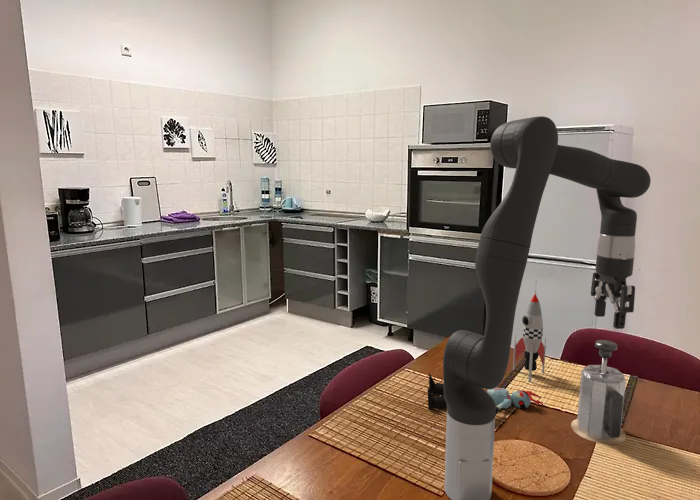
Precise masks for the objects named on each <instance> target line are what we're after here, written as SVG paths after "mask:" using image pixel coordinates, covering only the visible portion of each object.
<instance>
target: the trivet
mask: <svg viewBox="0 0 700 500" xmlns="http://www.w3.org/2000/svg"><path fill="white" fill-rule="evenodd" d="M570 426H571V429H572V430H573V432H574V433H575V434H577V435H579V436H580V437H581V438H583V439H585V440H588V441H590V442H594V443H597V444H603V445H617V444H621V443H623V442H624V441H625V440H626V439H627V435H626V433H625V431H624V430H623V429H622V428H621V431H620V437H618V438H617V439H616V440H614V441H602V440H597V439H594V438H591V437H588V436H586V435H585V434H583V433H582V432H580V431H579V430H578V427H577V418H576V419H574V420H572V422H571V423H570Z"/></svg>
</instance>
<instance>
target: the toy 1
mask: <svg viewBox="0 0 700 500" xmlns="http://www.w3.org/2000/svg"><path fill="white" fill-rule="evenodd" d="M483 389H484V388H483ZM484 390H485V391H486V392H487V393H488V394H489V395H490V396H491V397H492V398H493V400H494V401H495V405H496V415H495V417H496V416H497V415H498V414H499V411H500V409H508V408H510V407H511V406H512V404H513V406H514V407H516V408H519V409H523V410H527V408H529V407H530V405H531V401H532V402H533V403H535V404H536V405H541V406H545V404H544V403H543V402H541V401H540V400H541V399H542V397H541V396H539V395H538V394H536V393H535V392H532V391H531V390H514V391H512V392H511V394H510V391H509V390H508V389H506V388H503V387H502V388H501V387H496V388H494V389H491V390H488V389H484ZM434 394H437V395H434ZM440 395H441V396H440ZM532 396H533V397H537V398H538V399H534V398H533V397H532ZM539 399H540V400H539ZM427 405H428V407H427V408H429V409H433V408H438V409H447V403H446V401H445V398H444V383H441V382H436V381H434V378H433V376H432V375H431V373H430V372H428V386H427Z"/></svg>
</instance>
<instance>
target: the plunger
mask: <svg viewBox="0 0 700 500" xmlns="http://www.w3.org/2000/svg"><path fill="white" fill-rule="evenodd" d="M594 347H595V348H597V349H598V350H599V351H598V356H599V357H601V359H602V360H601V365H602V368H601V373H602V374H606V366H607V364H608V359H609V358H611V357H612V354H613V352H615V351H618V350H617V349H618V344H617V343H616V342H614V341H612V340H608V339H607V340H605V339H598V340H595V343H594Z"/></svg>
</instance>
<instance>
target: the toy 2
mask: <svg viewBox="0 0 700 500" xmlns="http://www.w3.org/2000/svg"><path fill="white" fill-rule="evenodd" d="M535 283H537V280H535ZM534 287H535V289H534V290H535V291H534V295H533V296H532V298H531V300H530V301H529V304H528V306H527V310H526V314H524V315H523V316H522V319H521V321H522V324H523V328H522V337H521V338H520V339H519V340H518V341H517V335H515V336H514V337H515V338H514V344H513V345H514V346H513V363H512V371H515V370H516V362H517V360H518V359H519V357H520V356H521V354H522V353H523V352H524V353H523V355H524V358H525V361H524V363H523V364H524V365H523V368H524V369H525V370H527V371H528V382H532V373H533V372H534V371H536V370H537V360H538V359H540V362H541V365H542V366H541V367H542V368H541V373H542V374H545V366H546V365H545V361H546V348H547V345H546V341H547V339H546V338H547V337H544V343H543V335H544V334H543V333H544V332H543V330H544V324H543V323H544V322H543V315H542V309H541V303H540V300H539V299H538V297H537V286H534Z"/></svg>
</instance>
